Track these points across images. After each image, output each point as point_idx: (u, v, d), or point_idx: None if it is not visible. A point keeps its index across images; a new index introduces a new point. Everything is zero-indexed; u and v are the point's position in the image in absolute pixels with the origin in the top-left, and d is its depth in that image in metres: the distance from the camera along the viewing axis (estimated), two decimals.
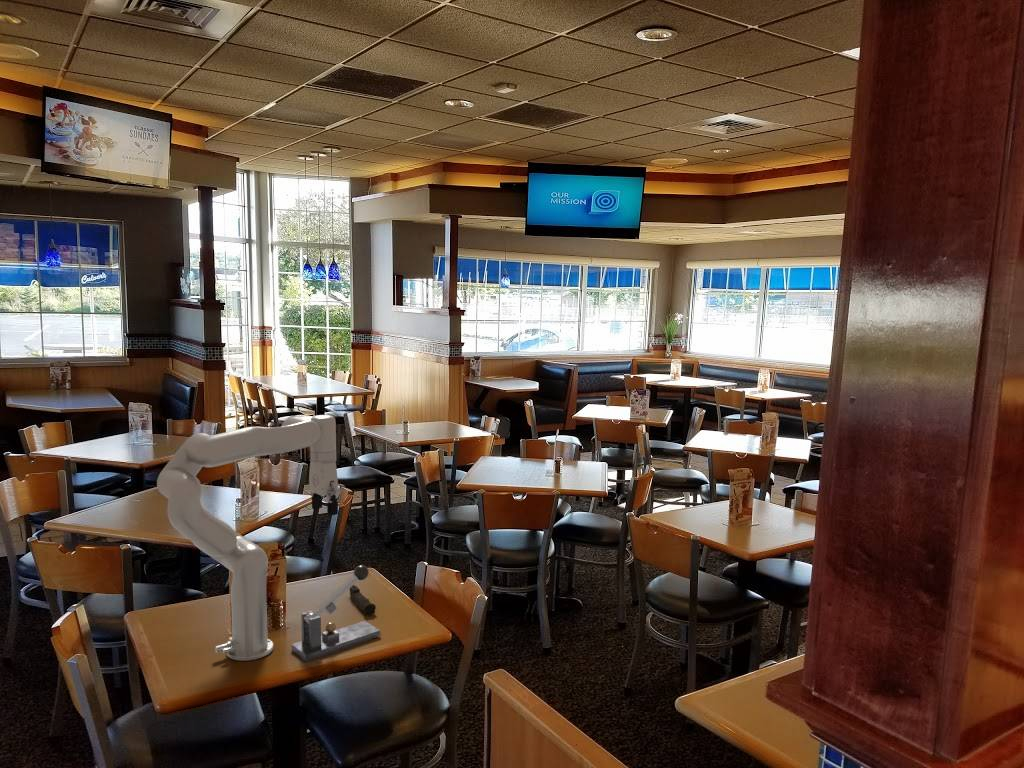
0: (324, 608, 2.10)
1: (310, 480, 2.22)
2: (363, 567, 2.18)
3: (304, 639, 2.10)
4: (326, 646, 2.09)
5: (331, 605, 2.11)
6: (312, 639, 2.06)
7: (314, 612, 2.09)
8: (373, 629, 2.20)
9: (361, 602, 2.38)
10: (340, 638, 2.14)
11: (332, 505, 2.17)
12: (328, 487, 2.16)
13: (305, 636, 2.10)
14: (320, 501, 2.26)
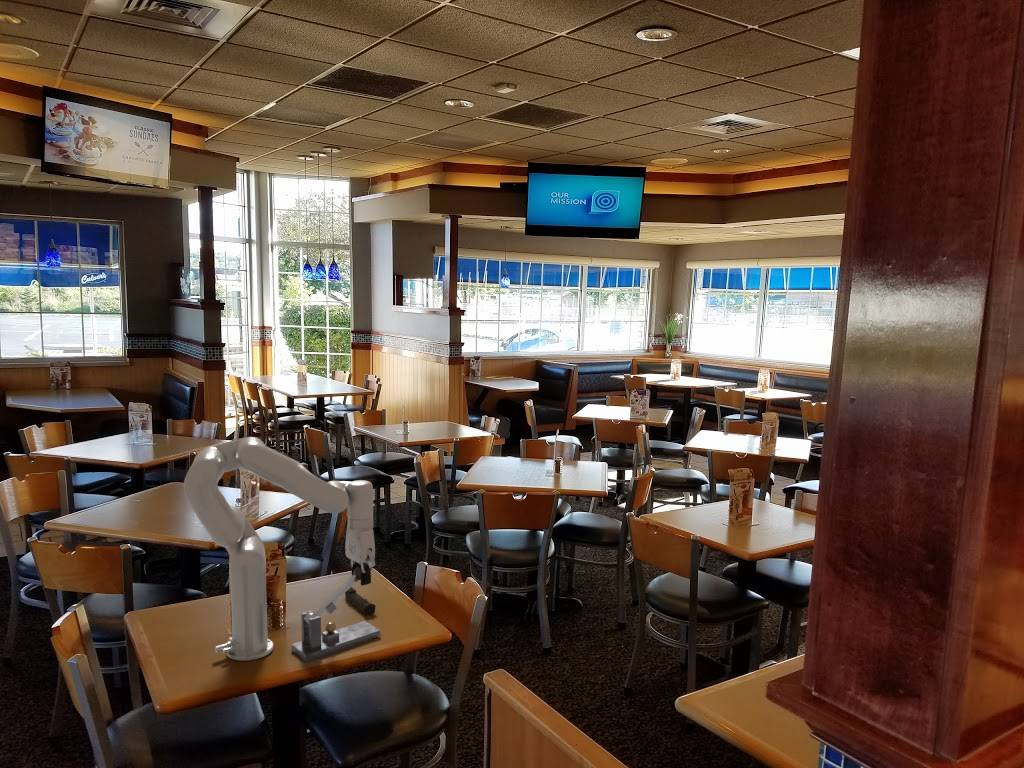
0: (324, 608, 2.10)
1: (346, 546, 2.19)
2: None
3: (304, 639, 2.10)
4: (326, 646, 2.09)
5: (331, 605, 2.11)
6: (312, 639, 2.06)
7: (314, 612, 2.09)
8: (373, 629, 2.20)
9: (360, 602, 2.37)
10: (340, 638, 2.14)
11: (366, 575, 2.16)
12: (365, 555, 2.13)
13: (305, 636, 2.10)
14: None
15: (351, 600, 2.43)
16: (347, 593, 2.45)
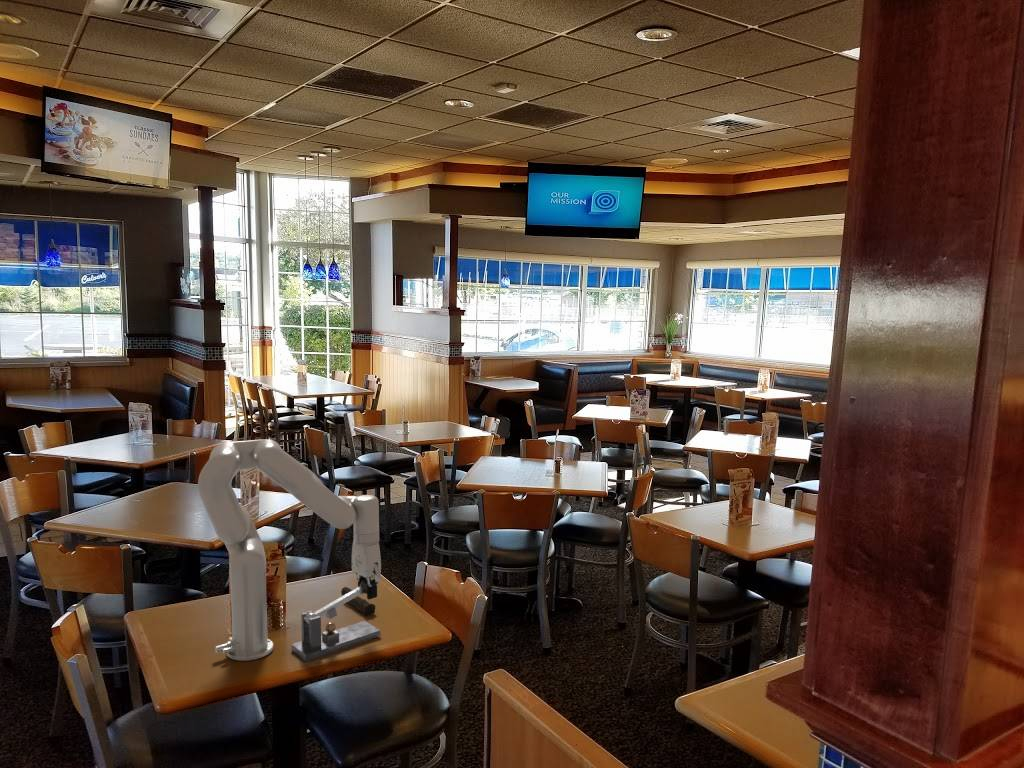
0: (325, 611, 2.11)
1: (352, 560, 2.21)
2: None
3: (304, 639, 2.10)
4: (326, 646, 2.09)
5: (333, 610, 2.12)
6: (312, 639, 2.06)
7: (315, 613, 2.09)
8: (373, 629, 2.20)
9: (359, 603, 2.37)
10: (340, 638, 2.14)
11: (372, 589, 2.18)
12: (372, 569, 2.15)
13: (305, 636, 2.10)
14: None
15: (349, 601, 2.42)
16: (344, 594, 2.45)
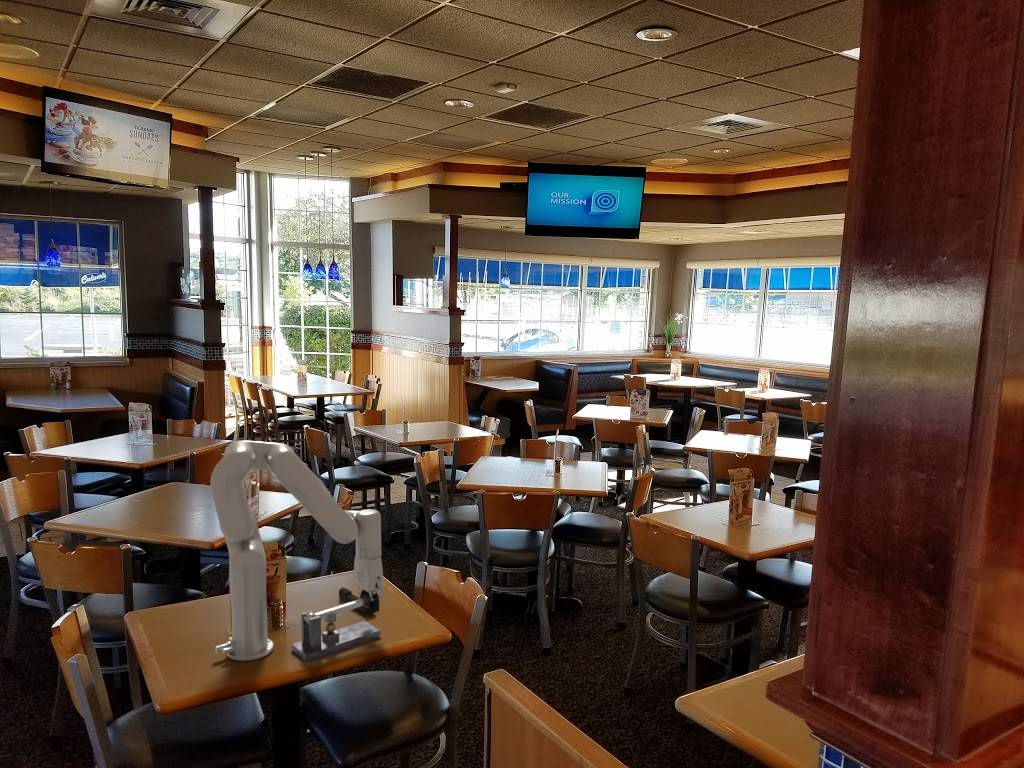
0: (326, 615, 2.11)
1: (355, 574, 2.21)
2: None
3: (304, 639, 2.10)
4: (326, 646, 2.09)
5: (333, 615, 2.12)
6: (312, 639, 2.06)
7: (316, 614, 2.10)
8: (373, 629, 2.20)
9: None
10: (340, 638, 2.14)
11: (374, 603, 2.18)
12: (374, 584, 2.16)
13: (305, 636, 2.10)
14: None
15: (348, 601, 2.42)
16: (342, 595, 2.44)
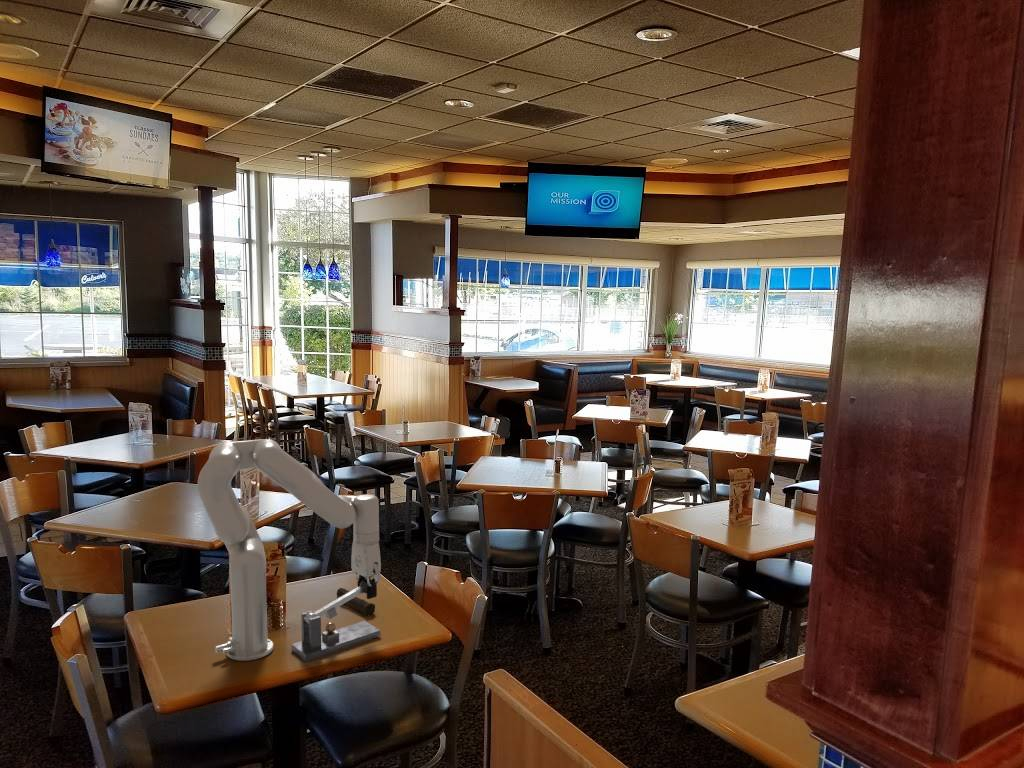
0: (325, 611, 2.11)
1: (352, 560, 2.20)
2: None
3: (304, 639, 2.10)
4: (326, 646, 2.09)
5: (333, 610, 2.12)
6: (312, 639, 2.06)
7: (315, 613, 2.09)
8: (373, 629, 2.20)
9: (359, 603, 2.37)
10: (340, 638, 2.14)
11: (371, 589, 2.17)
12: (371, 569, 2.15)
13: (305, 636, 2.10)
14: None
15: (346, 602, 2.41)
16: (341, 595, 2.44)
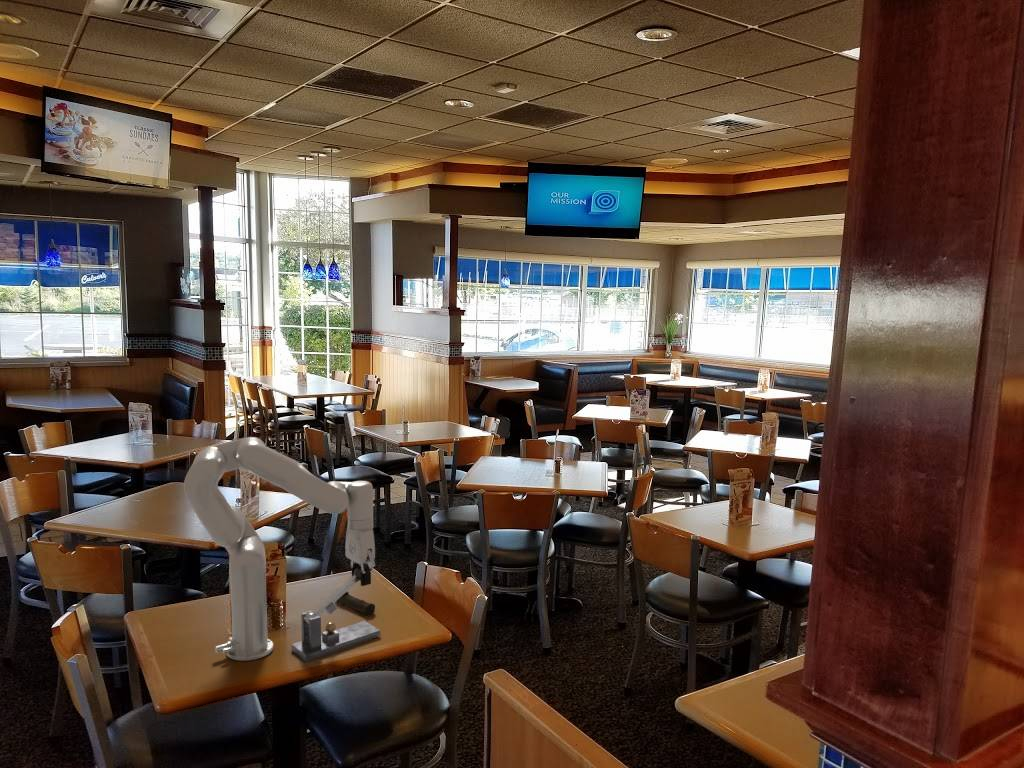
0: (324, 608, 2.10)
1: (346, 546, 2.19)
2: None
3: (304, 639, 2.10)
4: (326, 646, 2.09)
5: (331, 605, 2.11)
6: (312, 639, 2.06)
7: (314, 612, 2.09)
8: (373, 629, 2.20)
9: (358, 604, 2.37)
10: (340, 638, 2.14)
11: (366, 576, 2.16)
12: (365, 555, 2.13)
13: (305, 636, 2.10)
14: None
15: (345, 602, 2.41)
16: None
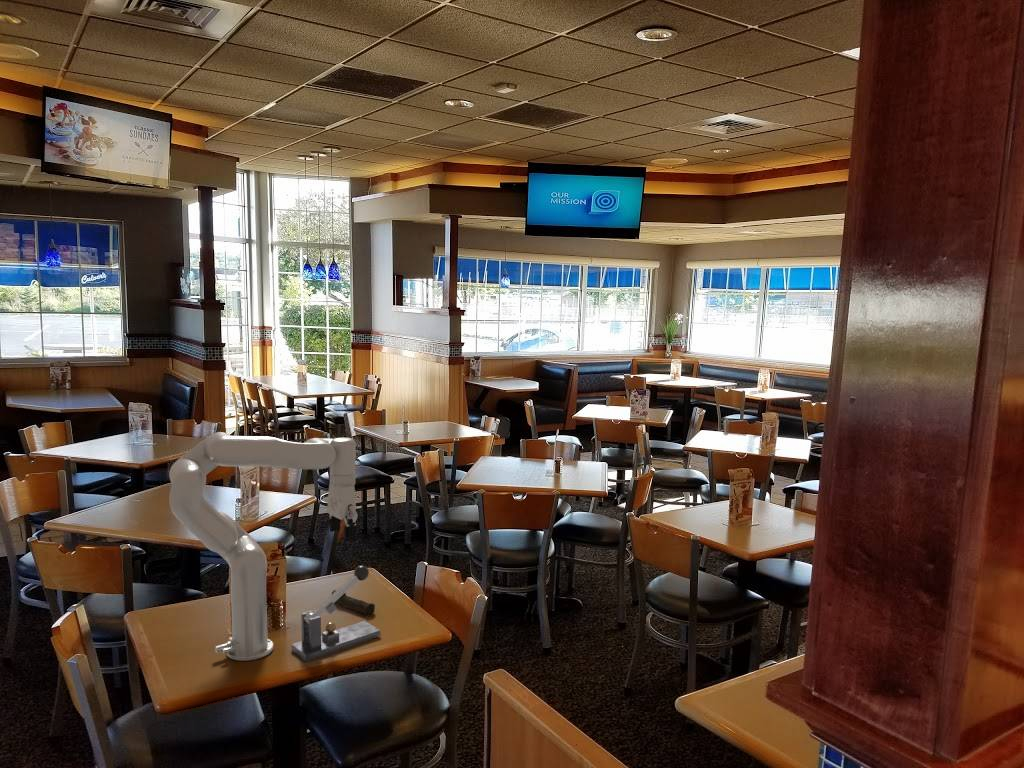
0: (324, 608, 2.10)
1: (328, 502, 2.21)
2: (363, 567, 2.18)
3: (304, 639, 2.10)
4: (326, 646, 2.09)
5: (331, 605, 2.11)
6: (312, 639, 2.06)
7: (314, 612, 2.09)
8: (373, 629, 2.20)
9: (358, 604, 2.36)
10: (340, 638, 2.14)
11: (349, 529, 2.16)
12: (346, 511, 2.15)
13: (305, 636, 2.10)
14: (338, 524, 2.24)
15: (343, 603, 2.40)
16: None
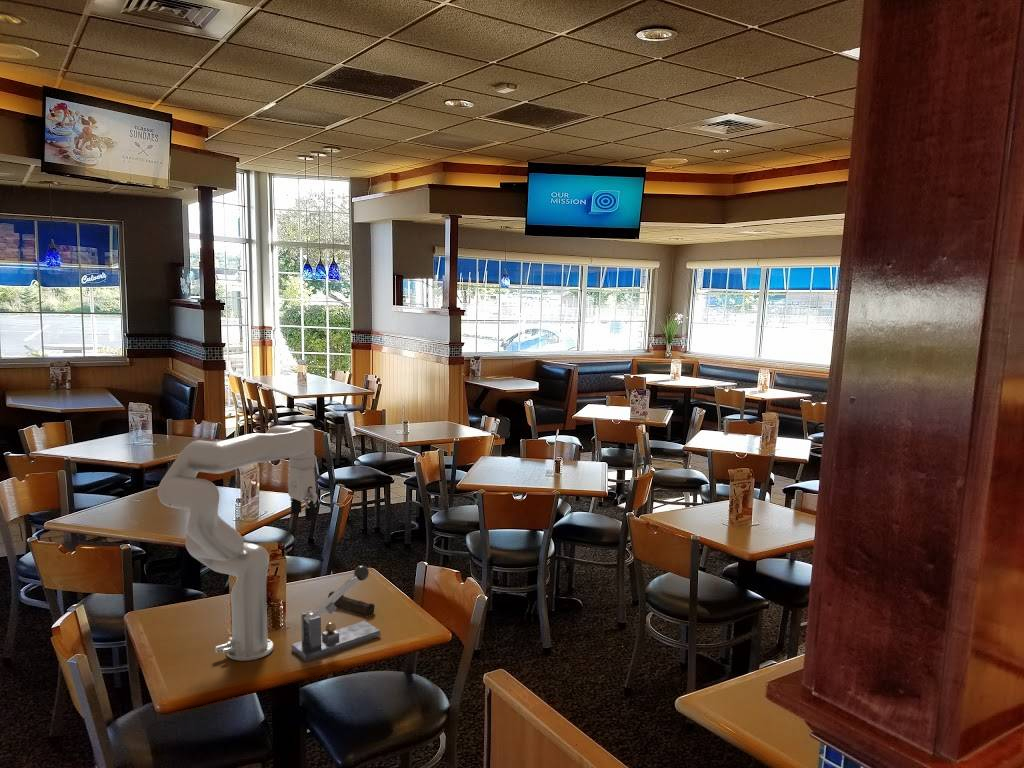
0: (324, 608, 2.10)
1: (289, 486, 2.28)
2: (363, 567, 2.18)
3: (304, 639, 2.10)
4: (326, 646, 2.09)
5: (331, 605, 2.11)
6: (312, 639, 2.06)
7: (314, 612, 2.09)
8: (373, 629, 2.20)
9: (357, 604, 2.36)
10: (340, 638, 2.14)
11: (310, 511, 2.24)
12: (306, 493, 2.23)
13: (305, 636, 2.10)
14: (299, 506, 2.32)
15: (342, 604, 2.39)
16: None
